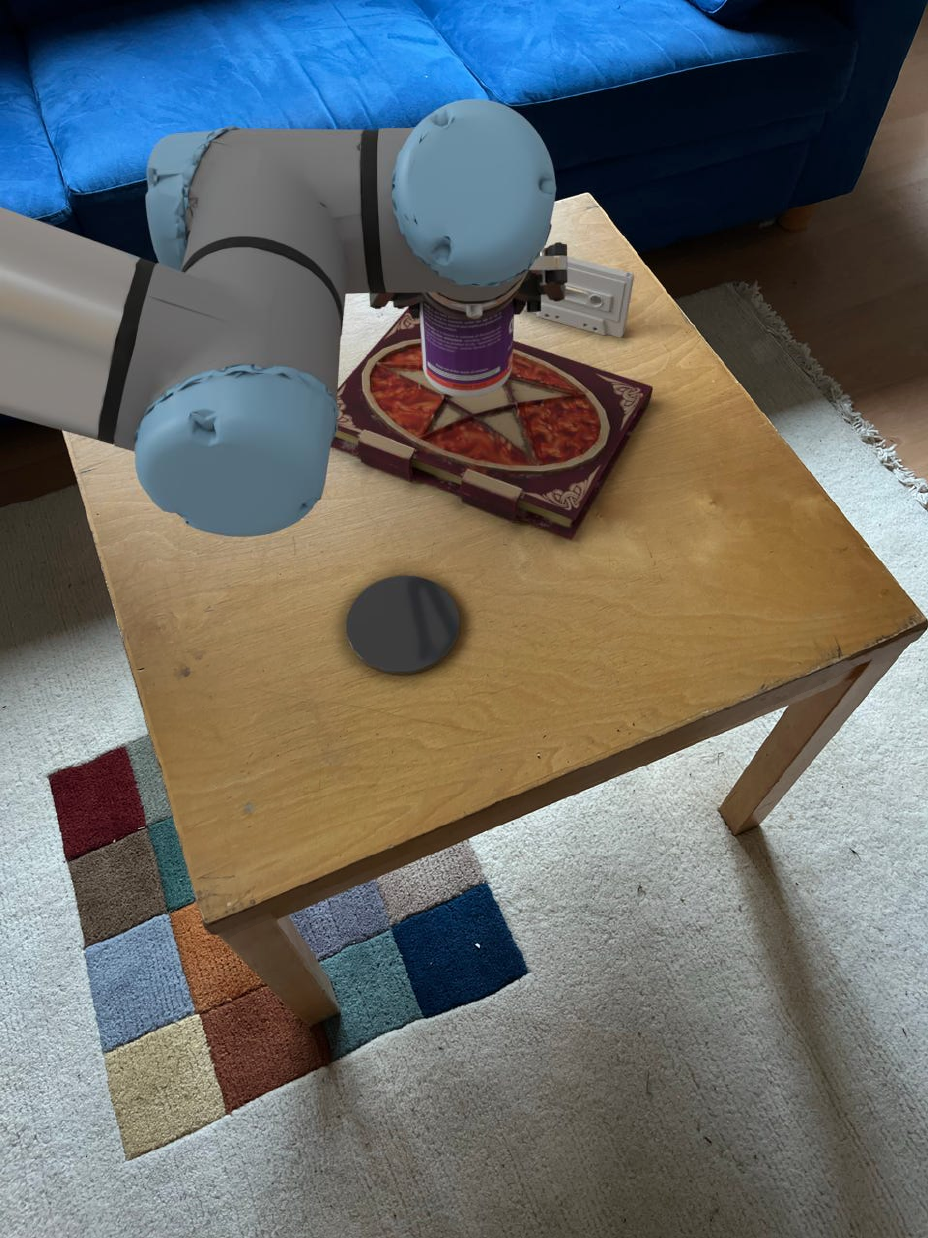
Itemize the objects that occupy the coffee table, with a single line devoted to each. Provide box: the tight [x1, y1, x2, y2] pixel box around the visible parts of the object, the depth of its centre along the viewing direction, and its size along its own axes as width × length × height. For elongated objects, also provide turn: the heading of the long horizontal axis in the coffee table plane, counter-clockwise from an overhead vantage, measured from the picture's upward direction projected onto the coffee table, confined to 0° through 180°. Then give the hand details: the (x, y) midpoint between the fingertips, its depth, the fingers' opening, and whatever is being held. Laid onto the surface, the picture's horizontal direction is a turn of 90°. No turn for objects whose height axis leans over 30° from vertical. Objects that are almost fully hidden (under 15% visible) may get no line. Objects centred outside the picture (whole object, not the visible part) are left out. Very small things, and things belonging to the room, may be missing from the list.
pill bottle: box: [418, 298, 515, 398], centre depth 72 cm, size 8×8×14 cm
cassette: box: [522, 256, 635, 338], centre depth 94 cm, size 12×2×8 cm, turn 66°
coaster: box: [345, 574, 461, 676], centre depth 76 cm, size 10×10×1 cm
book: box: [331, 307, 654, 540], centre depth 87 cm, size 28×21×5 cm
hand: (465, 300), depth 75 cm, fingers closed on pill bottle, 8 cm apart
